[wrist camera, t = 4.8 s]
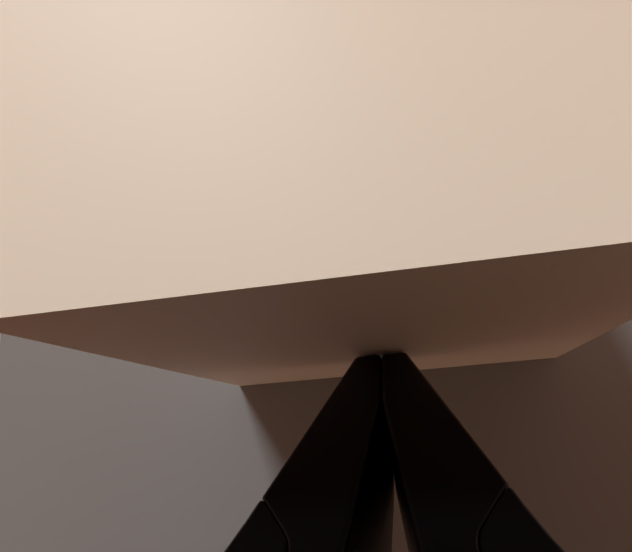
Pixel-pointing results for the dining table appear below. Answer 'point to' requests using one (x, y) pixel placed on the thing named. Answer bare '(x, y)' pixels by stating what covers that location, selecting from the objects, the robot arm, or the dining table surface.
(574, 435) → the deck
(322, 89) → the card box
